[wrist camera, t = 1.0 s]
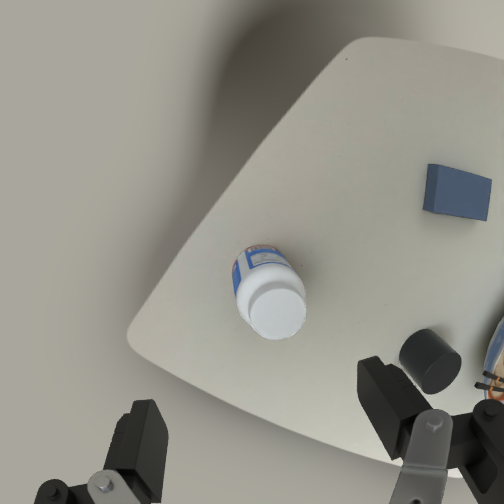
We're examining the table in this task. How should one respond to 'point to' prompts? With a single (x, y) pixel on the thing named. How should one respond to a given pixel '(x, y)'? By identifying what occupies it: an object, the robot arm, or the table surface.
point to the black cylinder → (430, 361)
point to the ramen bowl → (494, 366)
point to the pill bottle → (269, 292)
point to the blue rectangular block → (457, 193)
